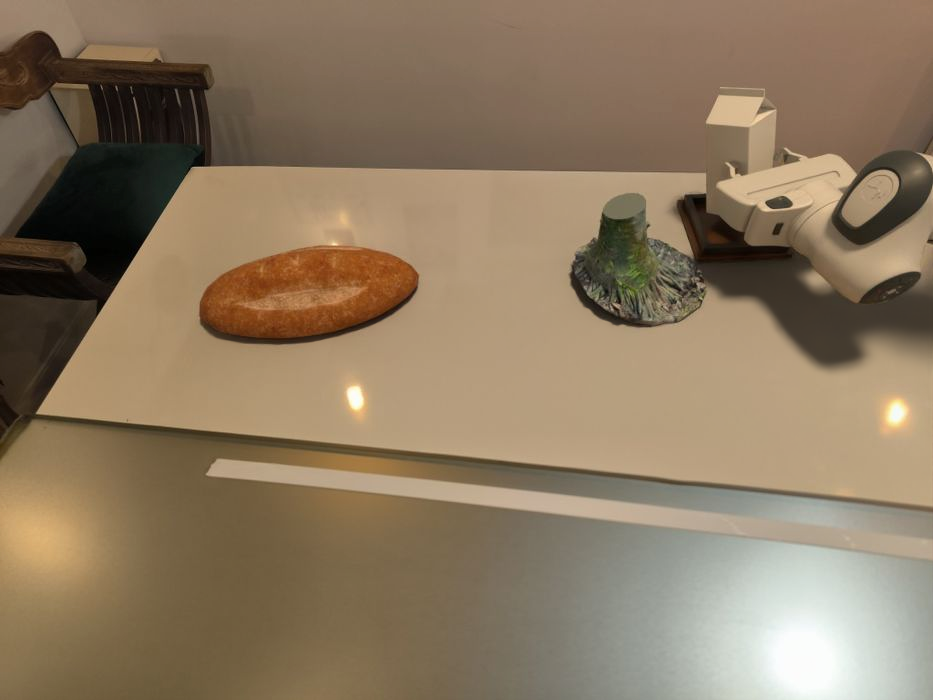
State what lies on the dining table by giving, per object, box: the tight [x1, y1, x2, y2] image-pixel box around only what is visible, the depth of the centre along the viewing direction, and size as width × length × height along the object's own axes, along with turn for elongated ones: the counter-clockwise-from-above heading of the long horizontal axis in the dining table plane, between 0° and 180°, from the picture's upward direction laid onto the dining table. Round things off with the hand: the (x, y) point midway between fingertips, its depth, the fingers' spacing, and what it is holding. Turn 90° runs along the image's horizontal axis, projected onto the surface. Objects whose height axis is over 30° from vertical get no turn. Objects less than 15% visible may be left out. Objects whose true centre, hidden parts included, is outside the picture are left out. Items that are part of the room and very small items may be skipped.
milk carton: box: [705, 86, 778, 215], centre depth 94 cm, size 7×7×19 cm
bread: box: [198, 244, 420, 339], centre depth 95 cm, size 18×35×9 cm, turn 97°
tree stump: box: [572, 192, 708, 327], centre depth 91 cm, size 18×20×18 cm
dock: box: [676, 193, 795, 264], centre depth 101 cm, size 15×15×2 cm
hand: (752, 159), depth 92 cm, fingers closed on milk carton, 7 cm apart
